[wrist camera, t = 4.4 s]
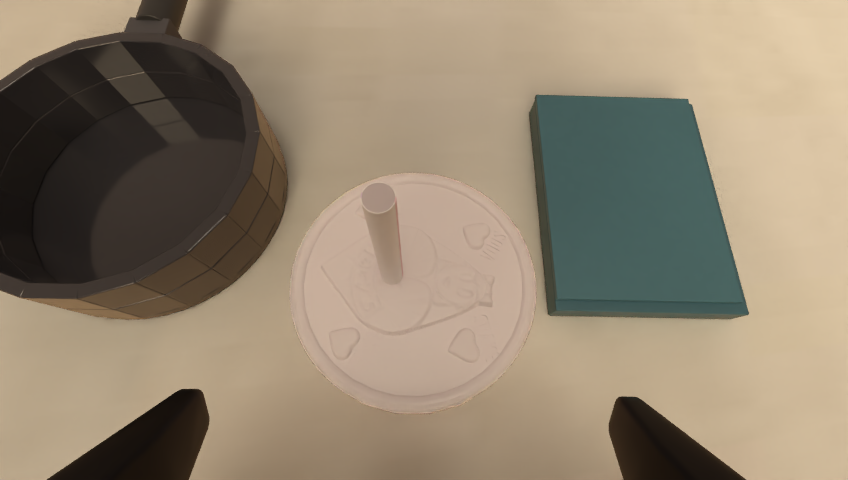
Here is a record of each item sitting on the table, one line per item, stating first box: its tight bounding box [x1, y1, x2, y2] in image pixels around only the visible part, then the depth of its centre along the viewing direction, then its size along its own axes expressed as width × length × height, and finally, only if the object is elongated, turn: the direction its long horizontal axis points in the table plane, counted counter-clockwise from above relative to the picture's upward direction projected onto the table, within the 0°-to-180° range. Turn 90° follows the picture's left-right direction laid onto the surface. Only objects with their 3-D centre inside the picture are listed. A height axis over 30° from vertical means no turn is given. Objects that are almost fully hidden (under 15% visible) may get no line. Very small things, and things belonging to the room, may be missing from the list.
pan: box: [0, 32, 287, 320], centre depth 20 cm, size 13×13×4 cm
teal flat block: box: [530, 95, 749, 319], centre depth 21 cm, size 12×9×2 cm
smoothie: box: [290, 173, 536, 414], centre depth 13 cm, size 6×6×14 cm
